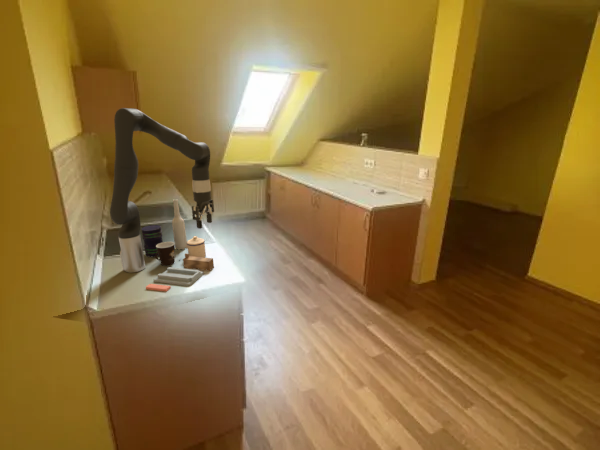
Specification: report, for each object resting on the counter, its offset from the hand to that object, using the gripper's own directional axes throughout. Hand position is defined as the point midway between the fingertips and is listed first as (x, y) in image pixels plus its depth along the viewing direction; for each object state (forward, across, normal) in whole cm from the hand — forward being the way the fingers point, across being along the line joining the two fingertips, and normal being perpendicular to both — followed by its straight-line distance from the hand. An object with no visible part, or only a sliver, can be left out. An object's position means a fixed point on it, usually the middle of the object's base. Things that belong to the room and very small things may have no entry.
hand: (204, 225), depth 147 cm
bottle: (+25, -27, -32) cm, 49 cm away
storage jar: (+25, -16, -41) cm, 51 cm away
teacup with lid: (+25, -17, -17) cm, 34 cm away
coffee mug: (+25, -5, -27) cm, 37 cm away
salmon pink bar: (+25, +18, -14) cm, 34 cm away
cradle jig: (+24, +7, -11) cm, 27 cm away
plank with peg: (+24, -5, -8) cm, 26 cm away
